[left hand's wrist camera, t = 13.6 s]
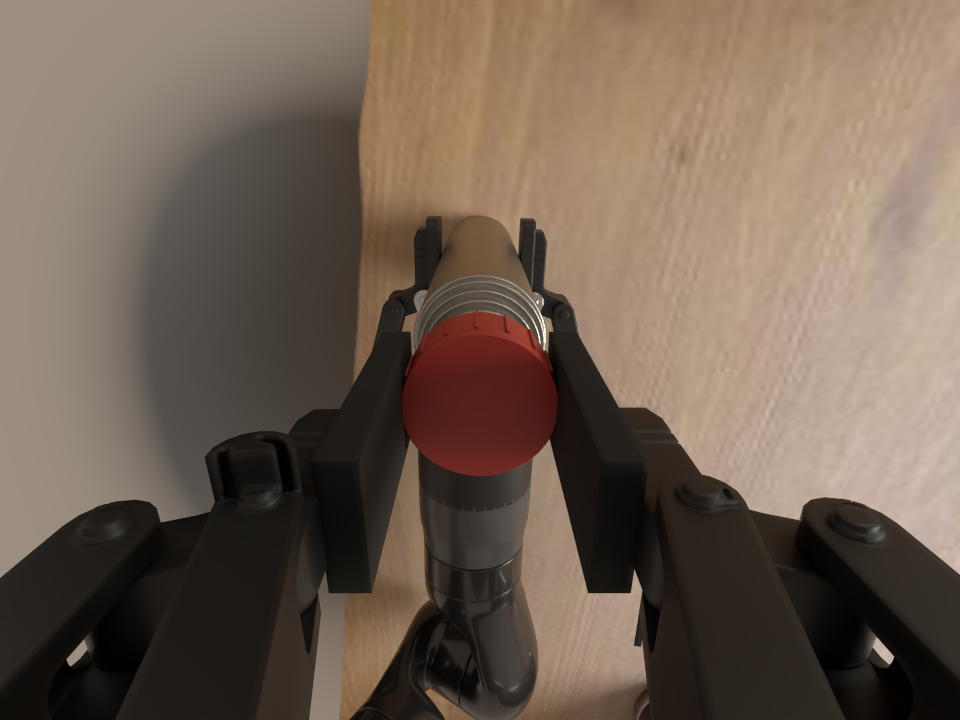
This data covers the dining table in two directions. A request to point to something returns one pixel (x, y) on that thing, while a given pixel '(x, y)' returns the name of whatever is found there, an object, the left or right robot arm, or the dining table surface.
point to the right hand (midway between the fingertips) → (480, 220)
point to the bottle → (479, 280)
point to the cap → (479, 395)
